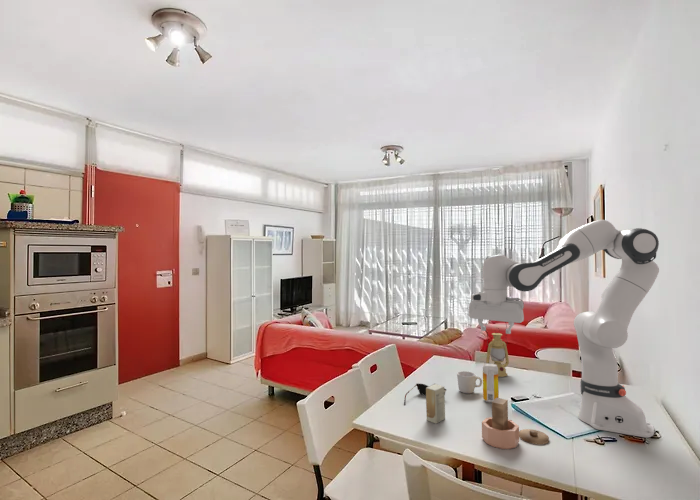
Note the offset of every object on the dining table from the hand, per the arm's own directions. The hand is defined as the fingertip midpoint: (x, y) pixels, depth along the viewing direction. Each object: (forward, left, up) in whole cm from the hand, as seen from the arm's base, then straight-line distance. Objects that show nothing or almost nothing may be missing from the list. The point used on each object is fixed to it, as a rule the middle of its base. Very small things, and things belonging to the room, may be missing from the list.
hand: (495, 332), depth 146 cm
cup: (+17, -16, -31) cm, 39 cm away
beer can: (+6, -11, -31) cm, 34 cm away
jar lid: (-16, +13, -32) cm, 38 cm away
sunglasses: (+28, +7, -32) cm, 43 cm away
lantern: (+15, -49, -31) cm, 60 cm away
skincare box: (+16, +20, -31) cm, 40 cm away
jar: (-8, +22, -31) cm, 39 cm away
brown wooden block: (-8, +22, -30) cm, 38 cm away
